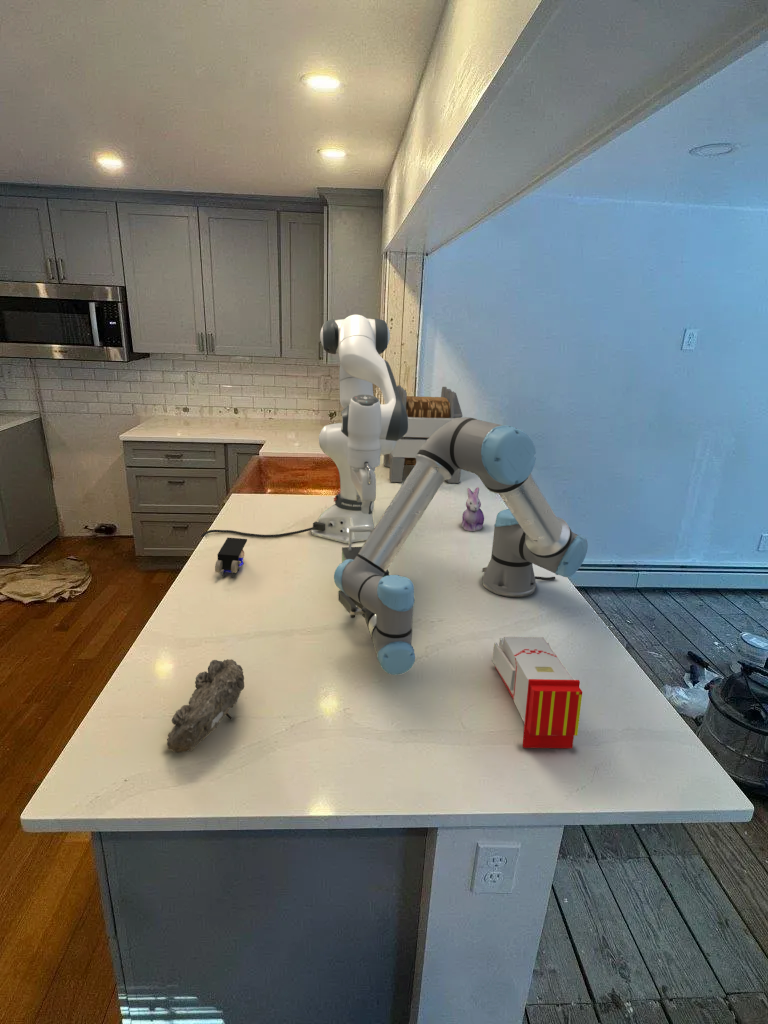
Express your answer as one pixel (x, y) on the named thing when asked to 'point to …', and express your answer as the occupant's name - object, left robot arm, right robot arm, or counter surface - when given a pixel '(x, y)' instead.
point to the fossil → (206, 705)
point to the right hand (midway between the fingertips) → (367, 579)
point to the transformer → (421, 429)
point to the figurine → (473, 512)
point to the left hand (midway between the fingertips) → (362, 506)
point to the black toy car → (230, 556)
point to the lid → (353, 551)
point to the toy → (539, 691)
